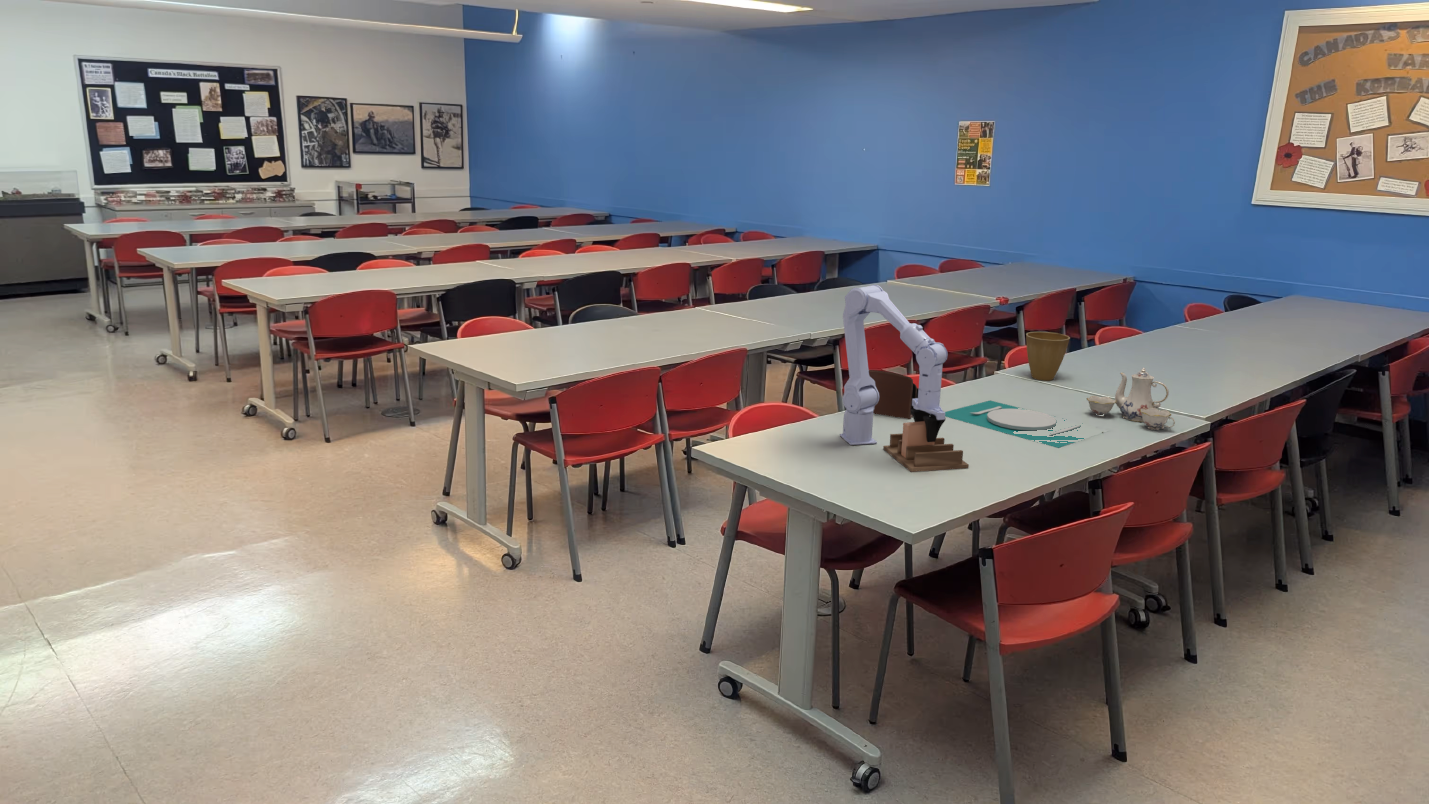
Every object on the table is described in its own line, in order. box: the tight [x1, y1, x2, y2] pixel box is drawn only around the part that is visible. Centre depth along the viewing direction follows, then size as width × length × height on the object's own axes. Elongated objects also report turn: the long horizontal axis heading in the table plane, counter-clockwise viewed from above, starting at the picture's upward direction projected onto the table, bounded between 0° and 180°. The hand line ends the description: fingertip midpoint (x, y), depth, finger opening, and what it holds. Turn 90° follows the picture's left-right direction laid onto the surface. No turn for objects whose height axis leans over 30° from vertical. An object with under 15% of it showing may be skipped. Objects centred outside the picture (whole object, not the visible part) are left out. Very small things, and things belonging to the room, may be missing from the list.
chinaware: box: [1086, 367, 1176, 431], centre depth 282 cm, size 28×17×17 cm, turn 42°
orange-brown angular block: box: [901, 421, 935, 458], centre depth 244 cm, size 3×8×9 cm, turn 105°
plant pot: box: [1025, 331, 1071, 382], centre depth 333 cm, size 15×15×16 cm
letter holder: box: [869, 369, 919, 420], centre depth 289 cm, size 10×20×14 cm, turn 60°
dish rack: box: [882, 432, 970, 473], centre depth 246 cm, size 19×16×4 cm
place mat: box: [944, 400, 1085, 449], centre depth 280 cm, size 45×30×2 cm
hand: (926, 438), depth 245 cm, fingers open, 5 cm apart
